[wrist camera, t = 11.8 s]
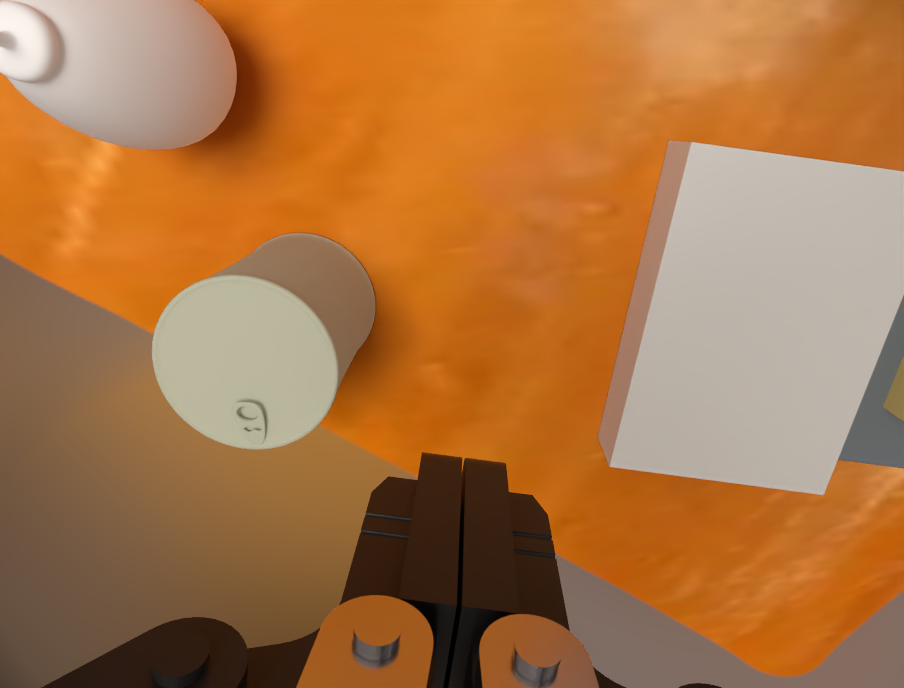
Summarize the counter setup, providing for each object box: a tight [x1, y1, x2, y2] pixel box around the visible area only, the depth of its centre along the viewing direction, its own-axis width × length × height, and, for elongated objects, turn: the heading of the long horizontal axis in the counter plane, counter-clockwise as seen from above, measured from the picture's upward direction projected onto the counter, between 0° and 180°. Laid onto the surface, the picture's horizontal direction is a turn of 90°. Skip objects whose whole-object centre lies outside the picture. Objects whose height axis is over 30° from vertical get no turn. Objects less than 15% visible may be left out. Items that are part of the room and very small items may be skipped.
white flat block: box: [598, 140, 904, 495], centre depth 37 cm, size 20×14×4 cm
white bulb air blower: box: [0, 0, 237, 150], centre depth 27 cm, size 8×8×18 cm
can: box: [152, 233, 376, 449], centre depth 34 cm, size 9×9×12 cm
